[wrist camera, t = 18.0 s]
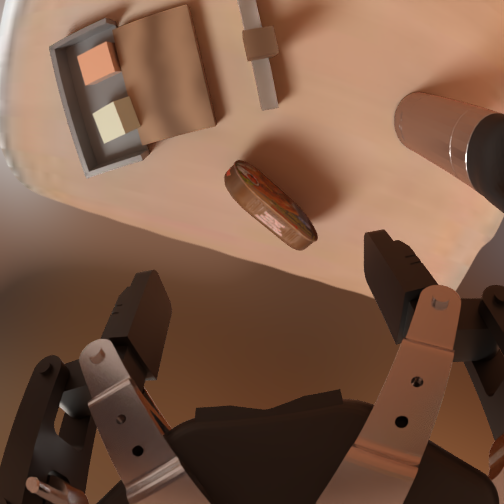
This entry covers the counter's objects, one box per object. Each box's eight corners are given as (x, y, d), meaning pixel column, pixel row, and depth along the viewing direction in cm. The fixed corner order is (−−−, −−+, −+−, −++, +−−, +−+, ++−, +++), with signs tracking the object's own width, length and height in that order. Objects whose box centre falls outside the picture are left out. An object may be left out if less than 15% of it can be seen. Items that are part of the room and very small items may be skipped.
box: (115, 21, 30) (105, 17, 27) (149, 153, 40) (142, 160, 37) (61, 47, 30) (48, 46, 27) (96, 170, 41) (86, 178, 38)
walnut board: (189, 7, 30) (186, 4, 28) (216, 123, 39) (215, 126, 37) (117, 31, 31) (112, 29, 29) (146, 142, 39) (142, 145, 38)
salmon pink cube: (115, 43, 31) (106, 41, 29) (123, 71, 33) (115, 71, 31) (87, 56, 32) (77, 56, 29) (95, 84, 34) (85, 85, 31)
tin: (313, 219, 46) (325, 249, 39) (298, 233, 48) (307, 264, 40) (237, 152, 41) (236, 170, 34) (222, 168, 42) (217, 190, 35)
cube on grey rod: (256, -6, 29) (259, -29, 21) (280, 105, 38) (290, 113, 29) (232, -2, 29) (229, -24, 21) (257, 108, 38) (261, 118, 29)
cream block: (129, 96, 34) (113, 101, 32) (140, 126, 36) (125, 133, 34) (108, 107, 36) (92, 113, 34) (118, 136, 38) (104, 143, 36)
